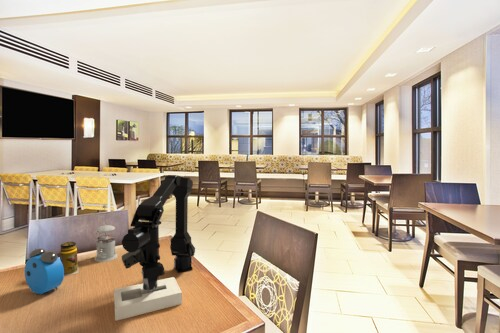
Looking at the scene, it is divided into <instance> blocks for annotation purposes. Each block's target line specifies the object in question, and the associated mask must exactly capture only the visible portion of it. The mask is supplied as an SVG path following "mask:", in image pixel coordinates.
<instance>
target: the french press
mask: <svg viewBox="0 0 500 333" xmlns="http://www.w3.org/2000/svg"><path fill="white" fill-rule="evenodd" d="M102 208H103V209H107V208H108V205H106V204H104V205H102ZM106 218H107V217H106V216H104V225H101V226H99V227H97V228H96V229H95V232H96V234H95V240H96V242H95V244H96V248H95V249H96V256H95V257H94V259H93V260H94V262H97V263H105V262H110V261H113V260H115V259H117V258H118V257H119V256H118V254H117V253H116V239H115V236H114V235H113V234H107V233H110V232H113V231H114V230H116V227H115V226H113V225H110V224H107V220H106ZM103 233H105V235H101V234H103ZM98 234H99V236H97V235H98Z"/></svg>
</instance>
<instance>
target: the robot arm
mask: <svg viewBox="0 0 500 333" xmlns="http://www.w3.org/2000/svg"><path fill="white" fill-rule="evenodd" d="M193 186H194V182H193V180H192V179H191V178H190V177H188V176H187V177H186V176H185V177H184V176H180V175H177V174H168V175H165V177H164V179H163V181H162V183H161V184H160V185H159V187H158V188H157V189H156V190H155V192H154V193H153V194H152V196H149V197H148V198H146V199H143V201H142V202H140V204H138V206H137V208H136V210H135V212H134V215H133V217H132V220H131V223H130V225H129V226H130V227H131V228H129V229H127V233H126V234H125V235H124V236H123V237H122V240H121V246H122V248H123V249H124V250H125V251H126V252H125V253H124V254H122V256H121V261H122V264H123V266H124V268H125V269H127V270H128V269H129V268H131V267H133V266H135V265H136V264H138V263H139V266H141V267H142V268H141V276H142V279H143V278H144V279H146V278H147V280H148V284H149V289H150V290H152V289H154V286H155V284H156V282H157V280H159V278H160V276H164V275H165V267H164V265H163V263H161V261H159V260H161V255H160V248H161V244H160V239H159V237H160V232H159V225H161V224H162V221H160V220H161V218H162V216H163V214H164V206H165V204H166V202H167V201H168V199H169V198H170V197H171V195H173V196H174V198H175V233H174V235H173V236H172V237H171V239H170V245H169V246H170V247H169V248H170V252H171V256H174V258H173V268H174V270H176V273H183V272H187V271H189V272H190V271H193V270H194V269H193V267H192V264H193V263H192V260H193V259H192V257H194V256H195V253H196V246H194V244H193V243H192V237H191V235H190V233H189V232H188V213H189V212H188V210H189V209H188V207H189V206H188V200H189V199H188V198H189V196H190V195H191V193H192V191H193V190H192V189H193Z"/></svg>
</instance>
